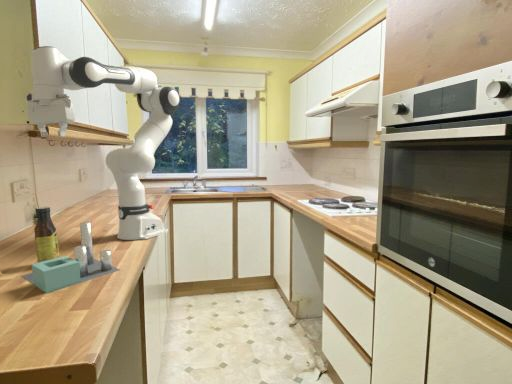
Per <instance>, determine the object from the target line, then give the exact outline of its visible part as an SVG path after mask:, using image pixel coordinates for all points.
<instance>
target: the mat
mask: <svg viewBox="0 0 512 384" xmlns="http://www.w3.org/2000/svg"><path fill="white" fill-rule="evenodd" d="M118 271H121V269H120V268H117V267H114V266H113V265H112V269H111V270H109V271H101V263H100V260H98V259H96V258H94V264H92V265H88V276H86V277H82V278H81V282H79V283H76V284H73V285H70V286H66V287H63V288H60V289H57V290H54V291H51V292H48V293H47V294H49V293H53V292H56V291H59V290H63V289H66V288H69V287H71V286H75V285H77V284H78V285H79V284H81V283H84V282H85V283H86V282H88V281H90V280H94V279H96V278H100V277H103V276H106V275H109V274H113V273H115V272H118ZM21 278H23V279H24V280H26V281H27V282H29V283H31V284H32V285H33V286H35V285H34V283H33V274H32V272H31V273H26V274H24V275H21ZM35 287H36V288H38V287H37V286H35Z"/></svg>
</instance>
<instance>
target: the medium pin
mask: <svg viewBox="0 0 512 384" xmlns="http://www.w3.org/2000/svg"><path fill="white" fill-rule="evenodd" d="M73 252H74V253H73V254H74V260H76V261H78V262H79V266H80V278H82V277H86V276H88V263H87V251H86V246H84V245H82V244H81V245H78V246H74V247H73Z"/></svg>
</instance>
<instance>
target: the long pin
mask: <svg viewBox="0 0 512 384" xmlns="http://www.w3.org/2000/svg"><path fill="white" fill-rule="evenodd" d="M79 229H80V242H81V243H80V245H81V246H82V245H84V246H86V251H87V263H88V265H92V264H94V259H95V258H94V248H93V236H92V234H93V233H92V223H91V222H90V221H84V222H81V223H79Z"/></svg>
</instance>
